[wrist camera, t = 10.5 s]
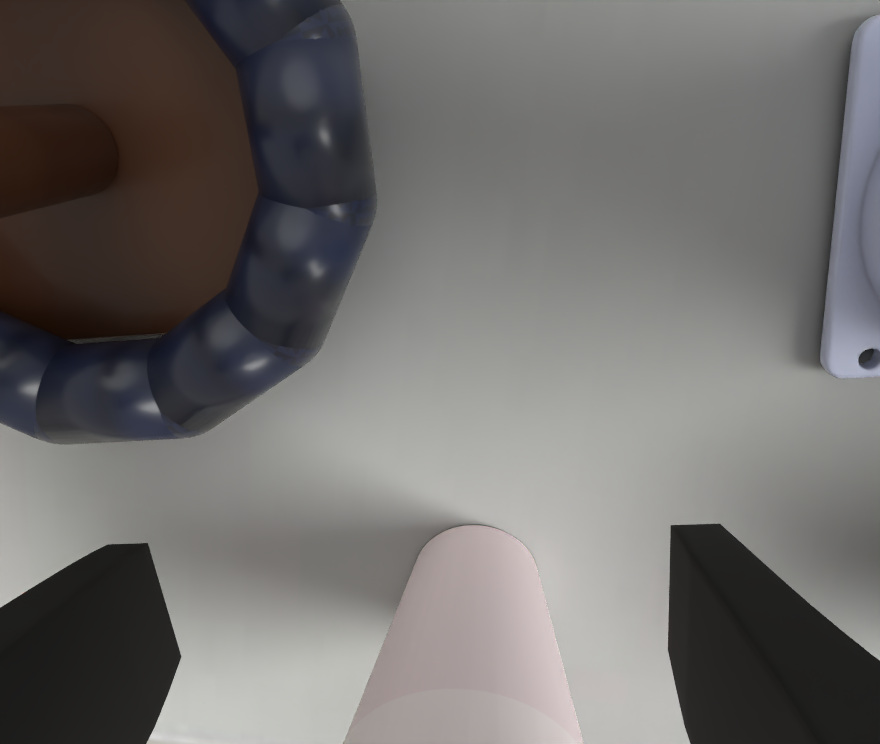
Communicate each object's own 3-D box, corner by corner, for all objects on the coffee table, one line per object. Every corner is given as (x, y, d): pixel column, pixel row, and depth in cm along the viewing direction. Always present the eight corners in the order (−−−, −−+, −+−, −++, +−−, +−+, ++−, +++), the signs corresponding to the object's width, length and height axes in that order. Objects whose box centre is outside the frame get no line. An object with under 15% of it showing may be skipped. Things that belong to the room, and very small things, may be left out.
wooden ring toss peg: (245, -94, 15) (61, -225, 9) (314, 310, 18) (215, 424, 12) (-134, -40, 16) (-537, -122, 10) (-5, 334, 19) (-247, 449, 13)
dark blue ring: (327, -274, 13) (290, -350, 11) (411, 400, 18) (397, 445, 15) (-313, -163, 14) (-462, -209, 12) (-75, 428, 19) (-150, 472, 17)
